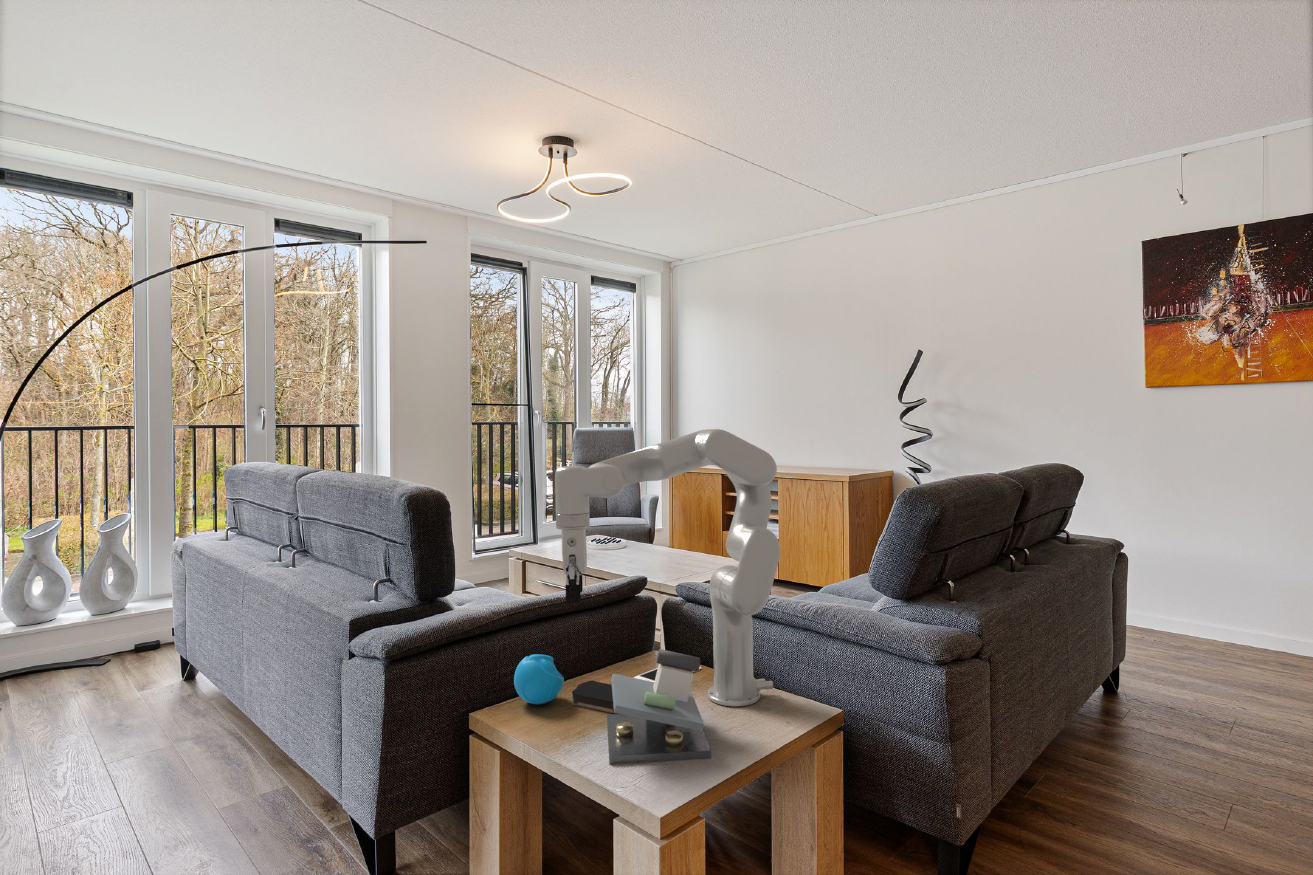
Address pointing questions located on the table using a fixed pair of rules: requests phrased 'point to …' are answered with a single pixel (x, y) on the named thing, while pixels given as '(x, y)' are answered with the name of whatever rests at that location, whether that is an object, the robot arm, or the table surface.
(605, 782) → the table surface
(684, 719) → the plate
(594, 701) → the black sponge
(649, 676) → the cell phone
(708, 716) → the table surface
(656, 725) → the levelling stand
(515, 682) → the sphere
